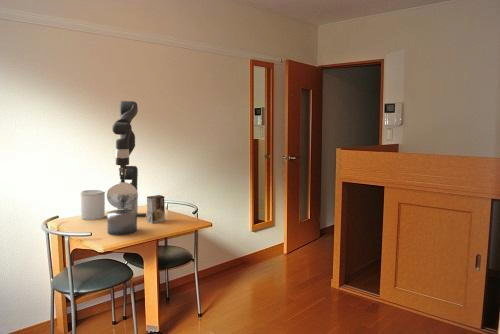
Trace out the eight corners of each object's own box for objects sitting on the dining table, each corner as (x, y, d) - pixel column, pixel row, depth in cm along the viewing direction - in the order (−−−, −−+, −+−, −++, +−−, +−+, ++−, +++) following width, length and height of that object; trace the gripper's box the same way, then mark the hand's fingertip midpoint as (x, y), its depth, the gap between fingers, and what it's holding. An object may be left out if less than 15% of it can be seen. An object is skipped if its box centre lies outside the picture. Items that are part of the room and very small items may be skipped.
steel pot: (108, 228, 228) (108, 209, 227) (146, 226, 234) (145, 208, 232) (106, 236, 213) (105, 216, 212) (146, 234, 218) (146, 214, 217)
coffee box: (159, 219, 252) (159, 194, 250) (165, 221, 248) (164, 196, 246) (146, 221, 246) (146, 196, 244) (152, 223, 241) (151, 197, 239)
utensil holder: (108, 218, 252) (107, 191, 250) (83, 221, 244) (82, 193, 242) (102, 213, 264) (101, 188, 262) (78, 216, 256) (78, 190, 254)
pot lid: (107, 210, 227) (107, 207, 229) (138, 209, 231) (138, 206, 234) (106, 183, 219) (106, 181, 222) (137, 182, 224) (137, 180, 226)
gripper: (116, 156, 234) (116, 184, 236) (114, 157, 222) (115, 188, 223) (129, 156, 236) (129, 184, 238) (128, 157, 224) (129, 187, 225)
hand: (122, 186), depth 231 cm, fingers closed
